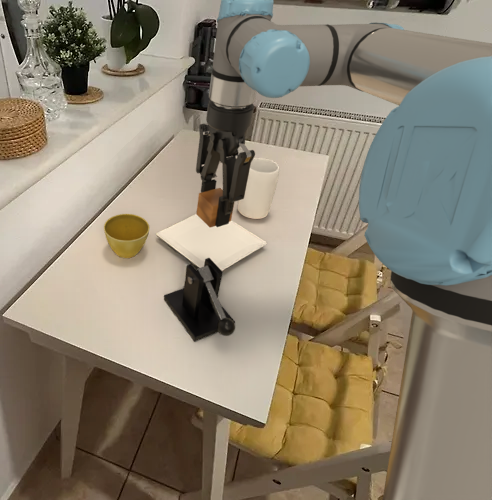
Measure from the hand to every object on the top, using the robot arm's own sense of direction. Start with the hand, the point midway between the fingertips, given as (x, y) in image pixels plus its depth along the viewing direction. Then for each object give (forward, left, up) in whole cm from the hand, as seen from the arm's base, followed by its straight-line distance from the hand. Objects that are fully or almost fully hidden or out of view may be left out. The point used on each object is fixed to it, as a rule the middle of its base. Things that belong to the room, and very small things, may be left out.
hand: (213, 216), depth 85 cm
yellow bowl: (+13, +13, -15) cm, 24 cm away
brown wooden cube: (0, 0, 0) cm, 0 cm away
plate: (+7, -6, -15) cm, 18 cm away
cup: (+13, -23, -15) cm, 31 cm away
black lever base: (-10, +8, -15) cm, 19 cm away
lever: (-13, +8, -9) cm, 18 cm away
